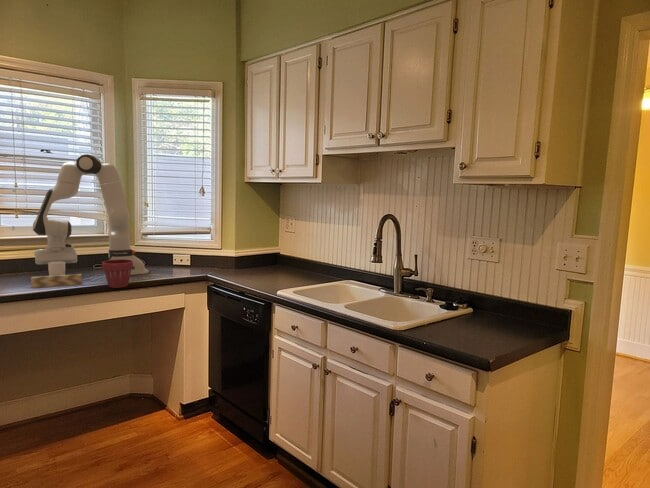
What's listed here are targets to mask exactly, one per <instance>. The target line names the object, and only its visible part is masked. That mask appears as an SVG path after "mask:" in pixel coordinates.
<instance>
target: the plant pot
mask: <svg viewBox="0 0 650 488" xmlns="http://www.w3.org/2000/svg"><path fill="white" fill-rule="evenodd" d="M101 267H102V270H103V271H104V274H105V279H106V281H107V284H108V287H109V288H111V289H112V288H116V289H119V288H124V287H127V286H129V283H130V282H129V281H130V277H131V275H130V273H131V269H132V268H133V261H132V260H127V259H116V260H109V259H108V260H104V261H102V262H101Z"/></svg>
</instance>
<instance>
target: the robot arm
mask: <svg viewBox="0 0 650 488" xmlns="http://www.w3.org/2000/svg"><path fill="white" fill-rule="evenodd" d="M83 175H95V176H96V177H97V179H98V182H99V186H100V190H101V194H102V199H103V200H104V201H103V202H104V206H105V208H106V213H107V216H108V239H109V241H108V245H109V249H108V260H116V259H127V260H132V261H133V268H132V269H131V273H130V276H132V275H133V276H134V275H143V274H148V273H149V272H150V271H149V269H147V268H146V267H145V263H144V261H142V260H141V259H140V258H138V257H137V256H136V255H135V254H136V250H134V249H132V248H131V235H130V232H131V231H130V218H131V215H130V211H129V208H128V204H127V200H126V197H125V193H124V188H123V185H122V181H121V178H120V175H119V173H118V169H117V168H116V166H115V165H114V164H112V163H108V162H106V163H102V162H101V160H100V158H98V157H97V156H96V155H95V154H92V153H81V154H80V155H78V157H77V158H76V160H75V162H70V161H69V162H68V161H67V162H64V163H63V164H62V165H61V167H60V170H59V172H58V176H57V179H56V183H55V185H54V186H53V187H52V188H49V189H48V191H47V192H46V194H45V196H44V199H43V201H42V203H41V206H40V208H39V211H38V213H37V215H36V218H35V220H34V221H33V223H32V231H33V232H34V233H35V234H36V235H38V236H47V237H46V240H47V244H46V248H45V249H44V248H42V249H41V248H40V249H39V248H38V249H37V250H35V251H34V256H35V258H34V262H35V264H36V265H48V263H49V262H59V261H60V262H65V264H75V263H77V262H78V254H77V251H76V249H75V245H74V244H71V243H66V242H65V240H68V238H70V237H71V235H72V230H73V229H72V224H71V222H69V220H67V219H66V220H65V219H59V218H58V219H57V218H52V217H48V214H49V212H50V209H51V207H52V204H54V202H58V201H60V200H66V199H67V200H68V199H70V198H73V197H75V196H76V195H77V194H78V192H79V189H80V184H81V179H82V176H83Z"/></svg>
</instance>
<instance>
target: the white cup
mask: <svg viewBox="0 0 650 488" xmlns="http://www.w3.org/2000/svg"><path fill="white" fill-rule="evenodd" d="M47 267H48V268H47V269H48V276H55V275H66V263H65V262H60V261H59V262H49V263H48V264H47Z"/></svg>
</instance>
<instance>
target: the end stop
mask: <svg viewBox="0 0 650 488" xmlns="http://www.w3.org/2000/svg"><path fill="white" fill-rule="evenodd" d="M82 274H83V273H77V274H74V273H73V274H65V275H55V276H49V275H39V276H31V277H30V281H31V283H30V284H31V285H30V286H31V289H32V288H35V289H36V288H45V287H47V288H48V287H61V286H76V285H77V286H78V285H83V278H82V277H83V275H82Z"/></svg>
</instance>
